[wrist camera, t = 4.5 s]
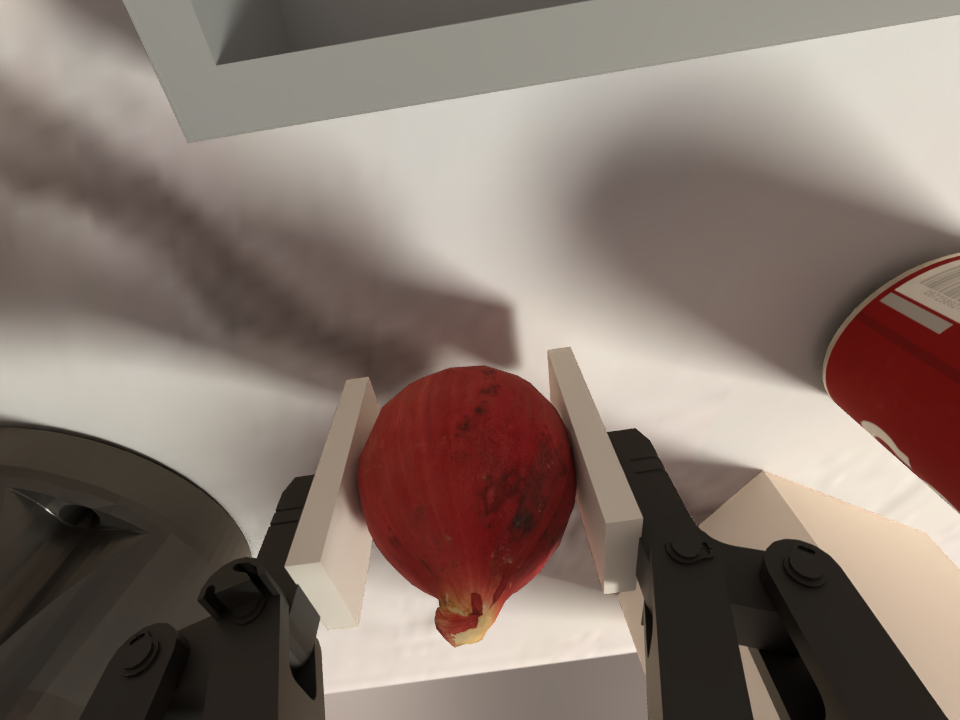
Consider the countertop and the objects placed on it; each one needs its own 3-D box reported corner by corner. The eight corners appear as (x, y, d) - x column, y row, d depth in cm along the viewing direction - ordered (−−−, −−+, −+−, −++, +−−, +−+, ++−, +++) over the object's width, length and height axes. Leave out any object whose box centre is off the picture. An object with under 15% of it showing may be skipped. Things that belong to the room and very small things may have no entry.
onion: (469, 279, 13) (490, 501, 6) (580, 390, 16) (676, 630, 9) (344, 389, 15) (261, 646, 8) (460, 471, 18) (467, 718, 11)
